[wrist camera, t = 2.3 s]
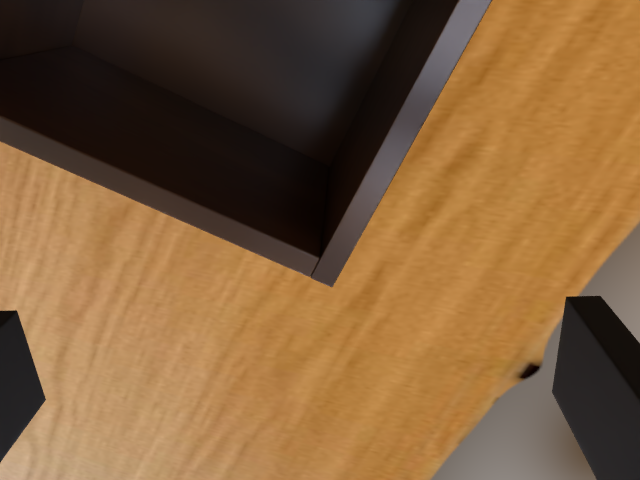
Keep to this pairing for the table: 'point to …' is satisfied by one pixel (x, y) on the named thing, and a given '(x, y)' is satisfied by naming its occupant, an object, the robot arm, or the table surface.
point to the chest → (234, 107)
